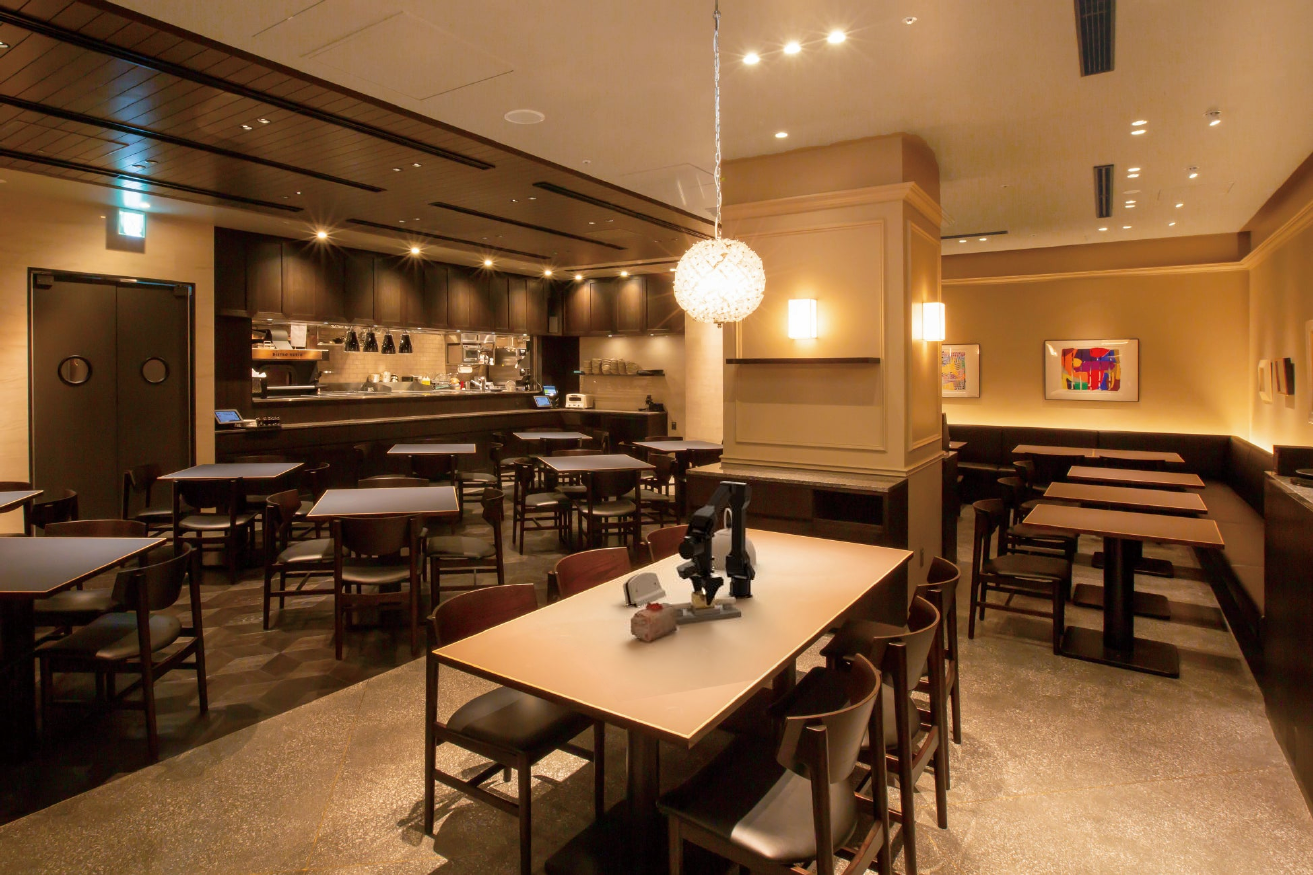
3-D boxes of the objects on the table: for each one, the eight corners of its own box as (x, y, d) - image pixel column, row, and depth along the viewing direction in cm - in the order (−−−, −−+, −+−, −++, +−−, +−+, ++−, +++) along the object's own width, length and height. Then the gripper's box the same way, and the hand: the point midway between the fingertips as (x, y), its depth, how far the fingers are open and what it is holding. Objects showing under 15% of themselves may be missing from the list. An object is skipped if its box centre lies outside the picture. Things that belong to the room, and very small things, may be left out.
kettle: (697, 555, 304) (696, 503, 302) (748, 554, 305) (748, 502, 304) (705, 570, 279) (705, 514, 277) (762, 569, 281) (762, 513, 279)
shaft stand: (727, 606, 232) (727, 592, 232) (741, 616, 223) (741, 601, 223) (665, 614, 225) (665, 599, 225) (676, 624, 216) (676, 609, 215)
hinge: (637, 607, 232) (629, 578, 234) (627, 609, 235) (619, 580, 236) (666, 595, 246) (658, 567, 247) (656, 597, 249) (648, 569, 250)
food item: (648, 645, 199) (648, 611, 198) (628, 638, 204) (628, 605, 203) (679, 632, 209) (679, 600, 208) (659, 626, 214) (658, 594, 213)
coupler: (696, 613, 221) (696, 595, 221) (691, 609, 225) (691, 591, 224) (714, 611, 223) (714, 592, 223) (709, 607, 227) (709, 589, 226)
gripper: (668, 548, 228) (669, 595, 230) (691, 562, 211) (691, 613, 212) (700, 545, 232) (700, 592, 233) (724, 559, 215) (724, 608, 216)
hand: (703, 601), depth 224 cm, fingers open, 8 cm apart
